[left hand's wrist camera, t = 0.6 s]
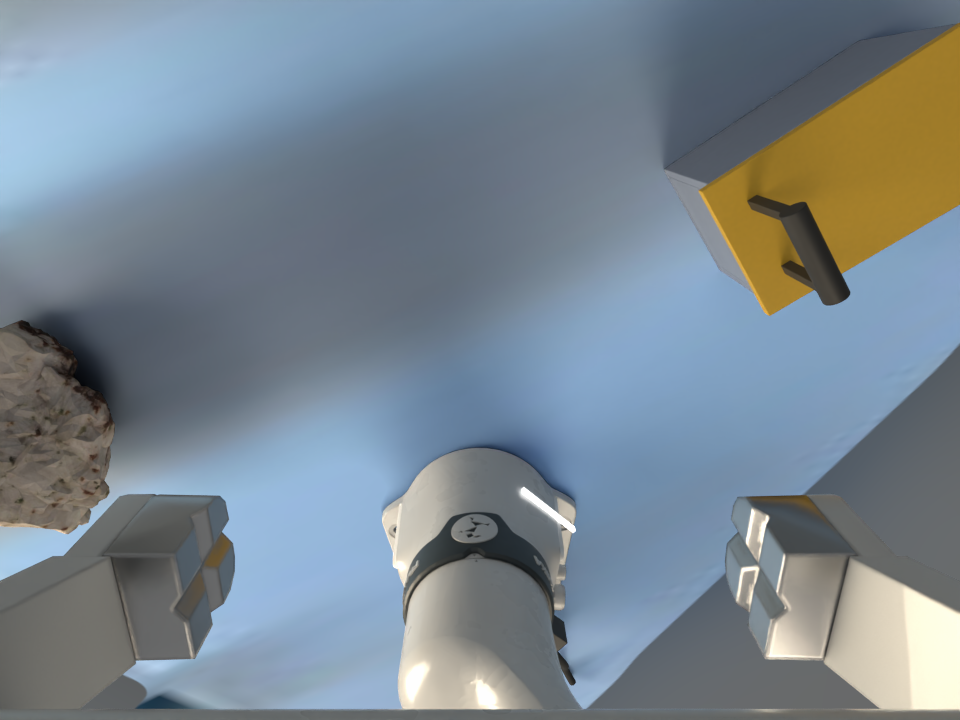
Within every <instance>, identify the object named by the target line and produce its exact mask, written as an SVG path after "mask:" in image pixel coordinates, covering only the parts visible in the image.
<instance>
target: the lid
mask: <svg viewBox="0 0 960 720" xmlns="http://www.w3.org/2000/svg"><path fill="white" fill-rule="evenodd" d="M698 191H699V193H700V195H701V197H702V199H703V200H704V202H705V204H706V206H707V208H708V210H709V211H710V213H711V215H712V217H713V219H714V221H715V223H716V224H717V226H718V228H719V230H720V232H721V234H722V235H723V237H724V239H725V241H726V243H727V245H728V246H729V248H730V250H731V252H732V254H733V256H734V257H735V259H736V261H737V263H738V265H739V267H740V268H741V270H742V272H743V274H744V276H745V278H746V279H747V281H748V283H749V285H750V287H751V289H752V290H753V292H754V294H755V296H756V298H757V300H758V301H759V303H760V305H761V307H762V309H763V311H764V312H765V313H766V314H767V315H769V316H770V315H772V314H774V313H775V312H777V311H779V310H780V309H782V308H784V307H786V306H787V305H789V304H791V303H792V302H794V301H796V300H798V299H799V298H801V297H803V296H804V295H806V294H808V293H810V292H811V291H813V290H815V291H817V293H818V295H819V297H820V299H821V301H822V303H823V304H824V305H835V304H838V303H840V302H842V301H844V300H845V299H847V298H848V297H849V295H850V290H849V288H848V286H847V284H846V282H845V280H844V278H843V276H842V273H844V272H845V271H847V270H849V269H851V268H852V267H854V266H856V265H857V264H859V263H861V262H862V261H864V260H866V259H868V258H869V257H871V256H873V255H874V254H876V253H878V252H880V251H881V250H883V249H885V248H886V247H888V246H890V245H892V244H893V243H895V242H897V241H898V240H900V239H902V238H903V237H905V236H907V235H909V234H910V233H912V232H914V231H915V230H917V229H919V228H921V227H922V226H924V225H926V224H927V223H929V222H931V221H933V220H934V219H936V218H938V217H939V216H941V215H943V214H944V213H946V212H948V211H950V210H951V209H953V208H955V207H956V206H958V205H960V23H958V24H956V25H955V26H953V27H951V28H950V29H948V30H947V31H945V32H944V33H942V34H941V35H939V36H937V37H936V38H934V39H933V40H931V41H930V42H928V43H927V44H925V45H923V46H922V47H920V48H919V49H917V50H916V51H914V52H913V53H911V54H909V55H908V56H906V57H905V58H903V59H902V60H900V61H899V62H897V63H895V64H894V65H892V66H891V67H889V68H888V69H886V70H885V71H883V72H881V73H880V74H878V75H877V76H875V77H874V78H872V79H871V80H869V81H868V82H866V83H864V84H863V85H861V86H860V87H858V88H857V89H855V90H854V91H852V92H850V93H849V94H847V95H846V96H844V97H843V98H841V99H840V100H838V101H836V102H835V103H833V104H832V105H830V106H829V107H827V108H826V109H824V110H822V111H821V112H819V113H818V114H816V115H815V116H813V117H812V118H810V119H808V120H807V121H805V122H804V123H802V124H801V125H799V126H798V127H796V128H794V129H793V130H791V131H790V132H788V133H787V134H785V135H784V136H782V137H781V138H779V139H777V140H776V141H774V142H773V143H771V144H770V145H768V146H767V147H765V148H763V149H762V150H760V151H759V152H757V153H756V154H754V155H753V156H751V157H749V158H748V159H746V160H745V161H743V162H742V163H740V164H739V165H737V166H735V167H734V168H732V169H731V170H729V171H728V172H726V173H725V174H723V175H721V176H720V177H718V178H717V179H715V180H714V181H712V182H711V183H709V184H707V185H706V186H704V187H703V188H701V189H700V190H698Z"/></svg>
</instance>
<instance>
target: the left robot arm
mask: <svg viewBox="0 0 960 720" xmlns="http://www.w3.org/2000/svg"><path fill="white" fill-rule="evenodd" d="M575 518H576V504H575V502H574V501H573V500H572V499H571V498H570V497H568V496H566V495H565V494H563V493H561V492H559V491H557V490H555V489H553V488H551V487H550V486H549V485H548V484H547V483H546V482H545V480H544V479H543V478H542V477H541V475H540V474H539V473H538V472H537V471H536V470H535V469H534V468H533V467H532V466H531V465H529V464H528V463H527V462H525V461H524V460H522V459H520V458H518V457H517V456H514V455H512V454H510V453H507V452H504V451H500V450H496V449H489V448H469V449H462V450H458V451H454V452H451V453H448V454H446V455H444V456H442V457H440V458H438V459H436V460H434V461H433V462H431V463H430V464H429V465H428V466H426V467H425V468H424V469H423V470H422V471H421V472H420V473H419V474H418V476H417V477H416V478H415V480H414V481H413V483H412V484H411V486H410V488H409V489H408V491H407V492H406V493H405V494H404V495H403V496H402V497H400V498H399V499H397V500H396V501H394V502H393V503H391V504H390V505H389V506H387V507H386V508H385V510H384V511H383V516H382V523H383V526H384V529H385V531H386V534H387V537H388V540H389V542H390V545H391V548H392V550H393V566H394V567H395V568H397V569H398V573H399V576H400V578H401V581H402V583H403V585H404V591H403V618H404V623H405V626H406V627H405V634H404V641H403V648H402V654H401V661H400V668H399V675H398V692H399V699H400V702H401V706H402V709H80V708H81V707H83V706H84V705H85V704H86V703H88V702H89V701H90V700H91V699H93V698H94V697H95V696H96V695H98V694H99V693H100V692H101V691H102V690H104V689H105V688H106V687H107V686H109V685H110V684H111V683H112V682H114V681H115V680H116V679H117V678H119V677H120V676H121V675H122V674H124V673H125V672H126V671H127V670H129V669H130V668H131V667H132V666H133V665H135V664H136V660H171V659H195V658H196V656H197V654H198V652H199V650H200V648H201V646H202V644H203V642H204V640H205V639H206V637H207V635H208V633H209V631H210V629H211V627H212V625H213V624H212V618H211V612H212V611H214V610H215V609H216V608H218V607H219V606H221V605H222V604H224V602H225V600H226V598H227V596H228V594H229V592H230V590H231V585H232V581H233V576H234V572H235V554H234V548H233V543H232V542H231V541H230V540H229V539H228V538H227V537H226V536H225V535H224V534H223V533H222V530H223V529H224V527H225V525H226V524H227V522H228V520H229V517H228V512H227V507H226V502H225V501H224V500H223V499H222V497H221V496H207V495H155V494H130V495H124V496H120V497H119V498H118V499H117V500H116V501H115V502H114V503H113V504H112V505H111V506H110V507H109V508H108V509H107V510H106V511H105V513H104V514H103V515H102V516H101V517H100V518H99V519H98V520H97V521H96V522H95V523H94V524H93V525H92V526H91V527H90V528H89V529H88V531H87V532H86V533H85V534H84V535H83V536H82V537H81V538H80V539H79V540H78V541H77V542H76V543H75V544H74V545H73V546H72V547H71V549H70V550H69V551H68V552H67V553H66V554H65V555H64V556H52V557H50V558H48V559H46V560H44V561H42V562H39V563H37V564H35V565H33V566H31V567H29V568H27V569H25V570H22V571H20V572H18V573H16V574H14V575H12V576H10V577H7V578H5V579H3V580H1V581H0V720H960V581H959V580H957V579H955V578H952V577H950V576H948V575H946V574H944V573H942V572H940V571H937V570H935V569H933V568H931V567H929V566H927V565H925V564H923V563H920V562H918V561H916V560H914V559H912V558H910V557H907V556H896V555H895V554H894V553H893V552H892V551H891V550H890V549H889V547H888V546H887V545H886V544H885V543H884V542H883V541H882V540H881V539H880V538H879V537H878V536H877V535H876V534H875V533H874V532H873V530H872V529H871V528H870V527H869V526H868V525H867V524H866V523H865V522H864V521H863V520H862V519H861V518H860V517H859V516H858V515H857V514H856V512H855V511H854V510H853V509H852V508H851V507H850V506H849V505H848V504H847V503H846V502H845V501H844V500H843V499H842V498H841V497H839V496H837V495H834V494H817V495H793V496H752V497H737V499H736V501H735V503H734V505H733V511H732V516H731V520H732V522H733V524H734V525H735V527H736V529H737V530H738V533H737V534H736V535H735V536H734V537H733V538H732V539H731V540H730V541H729V542H728V543H727V548H726V557H725V568H726V579H727V582H728V586H729V589H730V592H731V594H732V596H733V598H734V600H735V602H736V604H738V605H739V606H741V607H742V608H744V609H745V610H746V611H748V612H749V618H748V624H747V625H748V627H749V629H750V631H751V633H752V635H753V637H754V639H755V640H756V642H757V644H758V646H759V648H760V650H761V652H762V654H763V656H764V657H765V659H788V660H823V661H824V664H826V665H827V666H828V667H829V668H831V669H832V670H833V671H834V672H835V673H837V674H838V675H839V676H840V677H842V678H843V679H844V680H845V681H847V682H848V683H849V684H850V685H852V686H853V687H854V688H855V689H857V690H858V691H859V692H860V693H861V694H863V695H864V696H865V697H866V698H868V699H869V700H870V701H871V702H873V703H874V704H875V705H876V706H877V707H879V708H880V709H582V707H581V706H580V705H579V703H578V702H577V701H576V699H575V698H574V696H573V695H572V693H571V692H570V690H569V688H568V686H567V684H566V682H565V679H564V677H563V674H562V671H563V673H564V675H565V677H566V678H567V680H568V682H569V684H570V685H574V684H575V683H576V681H575V679H574V677H573V676H572V674H571V672H570V670H569V665H568V663H567V662H566V661H565V659H564V658H563V657H562V656H561V655H560V654H559V652H558V651H559V650H560V649H561V648H562V647H563V646H565V645H566V644H567V638H566V632H565V626H564V622H563V621H562V620H560V619H559V618H558V617H556V616H555V615H554V611H555V610H563V609H564V605H565V587H564V586H563V585H562V584H561V580H565V577H566V566H565V562H566V558H567V553H568V549H569V544H570V540H571V535H572V532H573V533H574V532H575V527H574V522H575ZM396 526H397V528H395V527H396ZM560 666H561V667H560ZM561 669H562V670H561Z"/></svg>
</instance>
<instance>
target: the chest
mask: <svg viewBox="0 0 960 720" xmlns="http://www.w3.org/2000/svg"><path fill="white" fill-rule="evenodd" d="M955 25H956V24H952V25H947V26H941V27H935V28H929V29H924V30H918V31H912V32H906V33H901V34H895V35H889V36H883V37H878V38H872V39H866V40H860V41H858V42H856V43H855V44H853V45H852V46H850V47H849V48H847V49H845V50H844V51H842V52H841V53H839V54H838V55H836V56H835V57H833V58H832V59H830V60H829V61H827V62H826V63H824V64H823V65H821V66H820V67H818V68H817V69H815V70H814V71H812V72H811V73H809V74H808V75H806V76H805V77H803V78H801V79H800V80H798V81H797V82H795V83H794V84H792V85H791V86H789V87H788V88H786V89H785V90H783V91H782V92H780V93H779V94H777V95H776V96H774V97H773V98H771V99H770V100H768V101H767V102H765V103H764V104H762V105H760V106H759V107H757V108H756V109H754V110H753V111H751V112H750V113H748V114H747V115H745V116H744V117H742V118H741V119H739V120H738V121H736V122H735V123H733V124H732V125H730V126H729V127H727V128H726V129H724V130H723V131H721V132H720V133H718V134H716V135H715V136H713V137H712V138H710V139H709V140H707V141H706V142H704V143H703V144H701V145H700V146H698V147H697V148H695V149H694V150H692V151H691V152H689V153H688V154H686V155H685V156H683V157H682V158H680V159H679V160H677V161H676V162H674V163H672V164H671V165H669V166H668V167H666V168H665V169H664V171H665V173H666V175H667V176H668V178H669V180H670V182H671V184H672V185H673V187H674V189H675V191H676V193H677V194H678V196H679V198H680V200H681V202H682V203H683V205H684V207H685V209H686V211H687V212H688V214H689V216H690V218H691V219H692V221H693V223H694V225H695V227H696V228H697V230H698V232H699V234H700V236H701V237H702V239H703V241H704V243H705V245H706V246H707V248H708V250H709V252H710V254H711V255H712V257H713V259H714V261H715V263H716V264H717V266H718V268H719V270H720V271H722V272H723V273H725V274H726V275H728V276H729V277H731V278H732V279H733V280H735V281H736V282H738V283H739V284H741V285H742V286H744V287H745V288H747V289H748V290H749V291H751V292H752V293H754V292H753V290H752V289H751V287H750V285H749V283H748V281H747V279H746V278H745V276H744V274H743V272H742V270H741V268H740V267H739V265H738V263H737V261H736V259H735V257H734V256H733V254H732V252H731V250H730V248H729V246H728V245H727V243H726V241H725V239H724V237H723V235H722V234H721V232H720V230H719V228H718V226H717V224H716V223H715V221H714V219H713V217H712V215H711V213H710V211H709V210H708V208H707V206H706V204H705V202H704V200H703V199H702V197H701V195H700V193H699V191H698V190H700V189H701V188H703V187H704V186H706V185H707V184H709V183H711V182H712V181H714V180H715V179H717V178H718V177H720V176H721V175H723V174H725V173H726V172H728V171H729V170H731V169H732V168H734V167H735V166H737V165H739V164H740V163H742V162H743V161H745V160H746V159H748V158H749V157H751V156H753V155H754V154H756V153H757V152H759V151H760V150H762V149H763V148H765V147H767V146H768V145H770V144H771V143H773V142H774V141H776V140H777V139H779V138H781V137H782V136H784V135H785V134H787V133H788V132H790V131H791V130H793V129H794V128H796V127H798V126H799V125H801V124H802V123H804V122H805V121H807V120H808V119H810V118H812V117H813V116H815V115H816V114H818V113H819V112H821V111H822V110H824V109H826V108H827V107H829V106H830V105H832V104H833V103H835V102H836V101H838V100H840V99H841V98H843V97H844V96H846V95H847V94H849V93H850V92H852V91H854V90H855V89H857V88H858V87H860V86H861V85H863V84H864V83H866V82H868V81H869V80H871V79H872V78H874V77H875V76H877V75H878V74H880V73H881V72H883V71H885V70H886V69H888V68H889V67H891V66H892V65H894V64H895V63H897V62H899V61H900V60H902V59H903V58H905V57H906V56H908V55H909V54H911V53H913V52H914V51H916V50H917V49H919V48H920V47H922V46H923V45H925V44H927V43H928V42H930V41H931V40H933V39H934V38H936V37H937V36H939V35H941V34H942V33H944V32H945V31H947V30H948V29H950V28H951V27H953V26H955Z"/></svg>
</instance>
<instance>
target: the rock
mask: <svg viewBox="0 0 960 720" xmlns="http://www.w3.org/2000/svg"><path fill="white" fill-rule="evenodd" d="M77 363H78V362H77V360H76V359H75V356H73V351H71V350H69V349H67V348H66V347H64V346H62V345H61V344H60V343H59V342H58V341H57V340H56V339H55V337H52V336H50V335H49V334H48V333H45V332H43V331H42V330H41V329H36V328H33V327H31V326H30V324H29V323H28V322H26V321H23V320H21V321H18V322H16V323H13V324H11V325H8V326H6V327H4V328H0V526H4V527H35V528H45V529H53V530H56V531H59V532H61V533H64V534H69V533H71V532H72V531H73V530H75V529H76V528H77V527H78V525H83V524H86V523H88V522H89V519H90V514H91V511H90V509H89V508H93V507H94V506H96V505H98V502H99V501H101V500H103V499H105V498H107V496H108V494H109V486H108V485H107V484H106V482H105V481H104V479H105V477H106V475H107V472H108V469H109V461H110V458H111V452H110V445H111V443H112V440H113V436H114V432H115V423H114V422H113V420H112V417H111V413H110V409H109V408H108V404H107V402H106V401H105V399H104V398H103V395H102V393H100V392H99V391H94V390H92V389H90V388H89V387H87V386H83V387H82V386H81V385H80V383H79V382H78V381H77V380H76V379H75V378H74V373H75V371H76V368H77Z"/></svg>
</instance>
